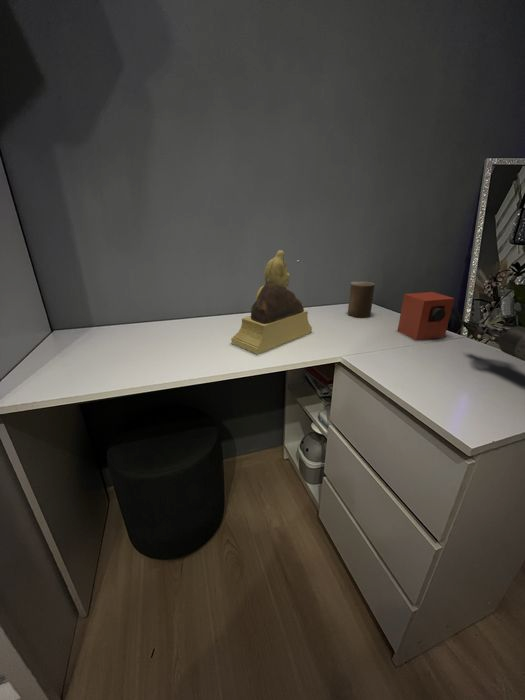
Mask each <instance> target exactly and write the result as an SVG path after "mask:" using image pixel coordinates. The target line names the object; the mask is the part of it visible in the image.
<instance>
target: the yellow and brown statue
mask: <svg viewBox="0 0 525 700" xmlns="http://www.w3.org/2000/svg"><path fill="white" fill-rule="evenodd" d="M284 257H285V252H284V251H283V250H282V249H280V250H278V251H277V252H276V254H275V256H274V257H273V258H271V259H270V260H268V262H267V264H266V266H265V269H264V272H263V277H264V284H263V285H262V286H260V287H259V289H258V290H257V293H256V294H255V302H254V303H253V304H252V306H251V307H250V309H251V310H250V315H249V316H246V317H245V316H244V317H241V325H240V328H239V330H238V332H237V333H236V334H235V335H233V336H232V337H231V340H230V341H231V344H232V345H234V346H236V347H239V348H240V349H243V350H244V351H248V352H249V353H253V354H254V355H260V354H262V353H264V352H267V351H269V350H271V349H274V348H276V347H279V346H281V345H284V344H287V343H289V342H291V341H294V340H296V339H299V338H301V337H303V336H306V335H308V334H311V333H312V331H313V327H312V325H311V324H310V321H309V317H308V315H309V312H308V310H305V309H304V307H303V305H302V302H301V301H300V300H299V299H298V298H297V296H296V294H295V293H294V292H292V291H291V290H290V289H288V287H289V283H290V282H289V281H290V273H289V272H288V265H287V262H286V260H285V258H284Z"/></svg>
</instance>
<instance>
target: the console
mask: <svg viewBox="0 0 525 700" xmlns="http://www.w3.org/2000/svg"><path fill="white" fill-rule="evenodd" d="M454 302H455V297H450V296H448V295H444V294H441V293H438V292H435V291H427V292H414V293H403V299H402V304H401V310H400V316H399V320H398V325H397V332H399V333H401V334H403V335H404V336H407V337H409V338H411V339H412V340H414V341H421V340H430V339H437V338H438V339H439V338H445V337H446V334H447V330H448V326H449V322H450V318H451V314H452V311H453V310H452V309H453V306H454ZM435 308H441V309H444V310H445V317H444V318H443V320H441V321H439V322H437V321H434V320H432V319H431V317H430V314H431V312H432V310H433V309H435Z"/></svg>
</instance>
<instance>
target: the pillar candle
mask: <svg viewBox="0 0 525 700" xmlns="http://www.w3.org/2000/svg"><path fill="white" fill-rule="evenodd" d="M375 284H376V283H374V282H370V281H362V280H361V281H351V282H350V290H349V300H348V308H347V315H348V316H351V317H354V318H358V319H359V318H362V319H363V318H364V319H365V318H369V317H371V315H372V308H373V307H372V306H373V301H374V292H375Z"/></svg>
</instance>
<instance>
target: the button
mask: <svg viewBox="0 0 525 700" xmlns="http://www.w3.org/2000/svg"><path fill="white" fill-rule="evenodd" d="M430 317H431V319H432V320H434V321H437V322H439V321H441V320H443V318H444V317H445V310H444V309H441V308H435V309H433V310H432V312H431V314H430Z"/></svg>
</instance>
